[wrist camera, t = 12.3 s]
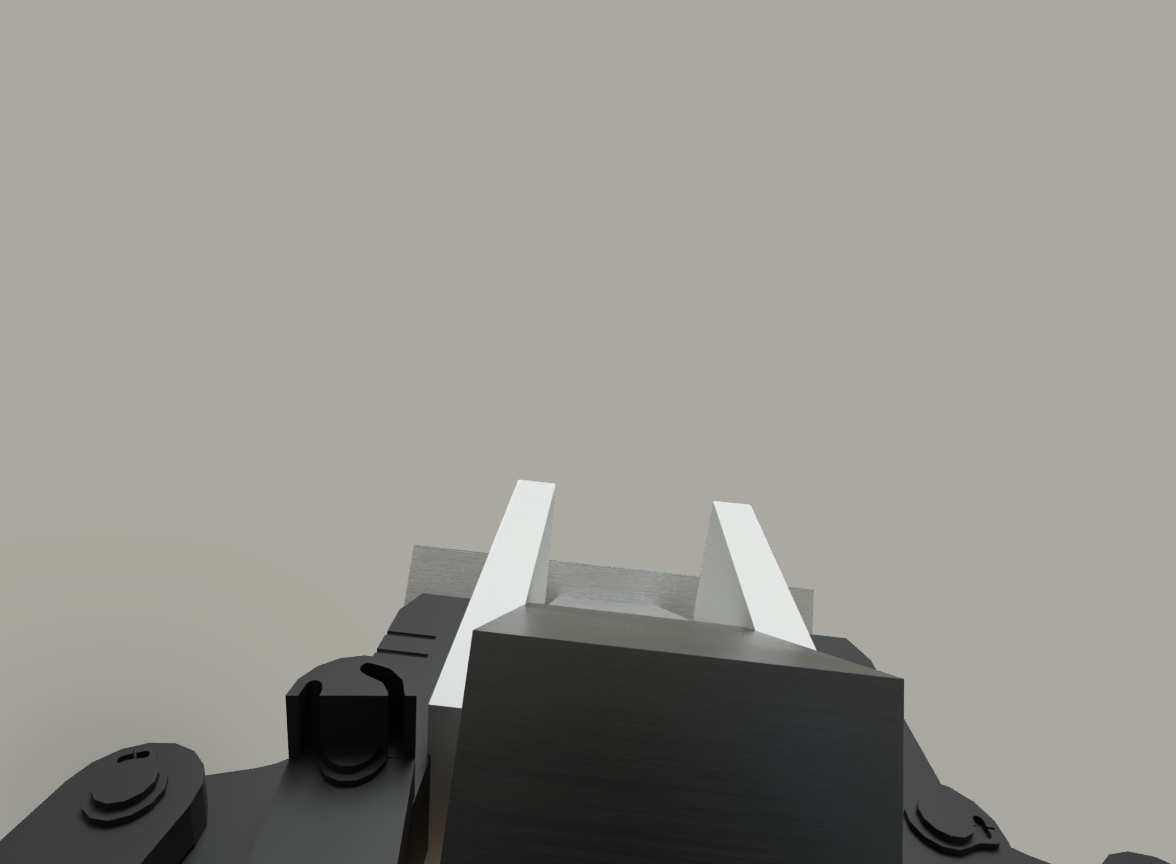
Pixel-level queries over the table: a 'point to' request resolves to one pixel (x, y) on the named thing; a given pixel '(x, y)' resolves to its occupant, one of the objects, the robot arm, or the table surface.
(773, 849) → the t handle
